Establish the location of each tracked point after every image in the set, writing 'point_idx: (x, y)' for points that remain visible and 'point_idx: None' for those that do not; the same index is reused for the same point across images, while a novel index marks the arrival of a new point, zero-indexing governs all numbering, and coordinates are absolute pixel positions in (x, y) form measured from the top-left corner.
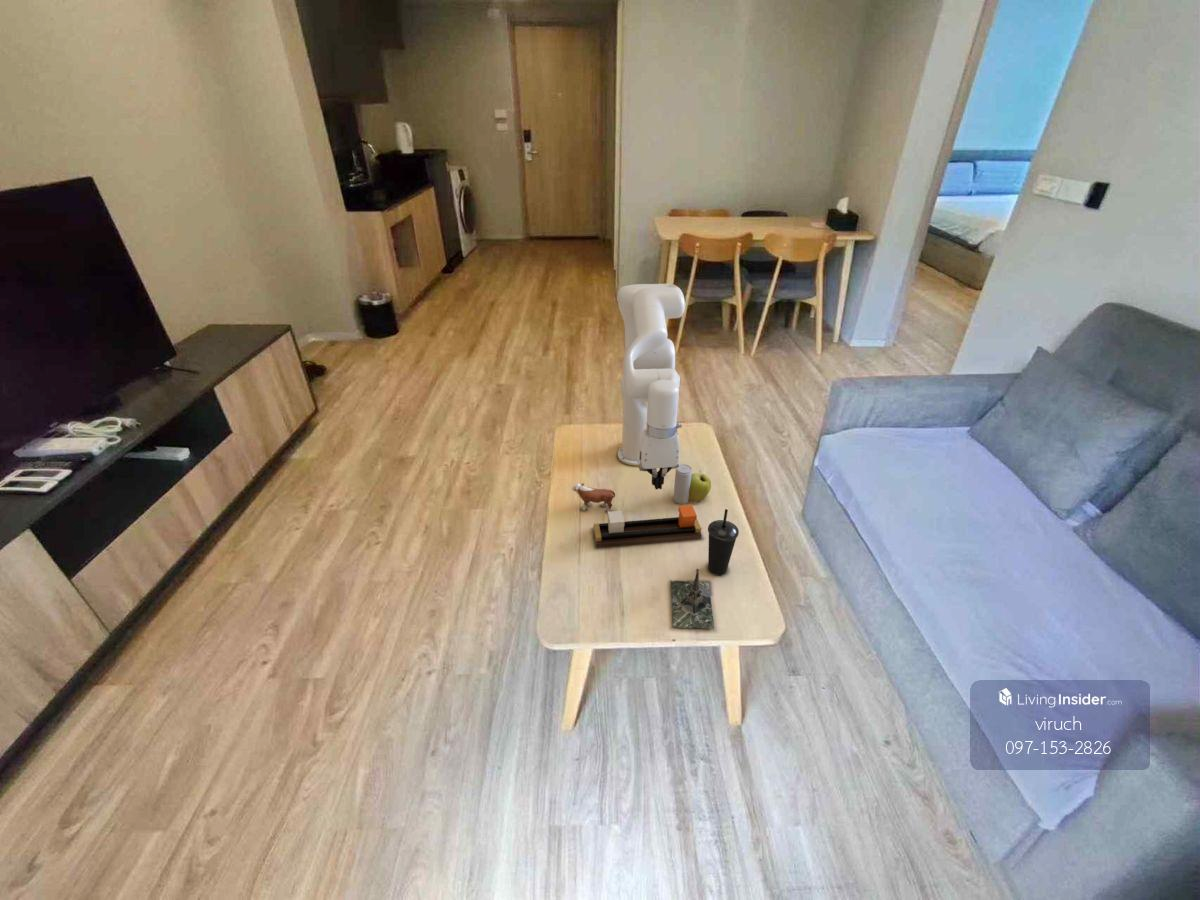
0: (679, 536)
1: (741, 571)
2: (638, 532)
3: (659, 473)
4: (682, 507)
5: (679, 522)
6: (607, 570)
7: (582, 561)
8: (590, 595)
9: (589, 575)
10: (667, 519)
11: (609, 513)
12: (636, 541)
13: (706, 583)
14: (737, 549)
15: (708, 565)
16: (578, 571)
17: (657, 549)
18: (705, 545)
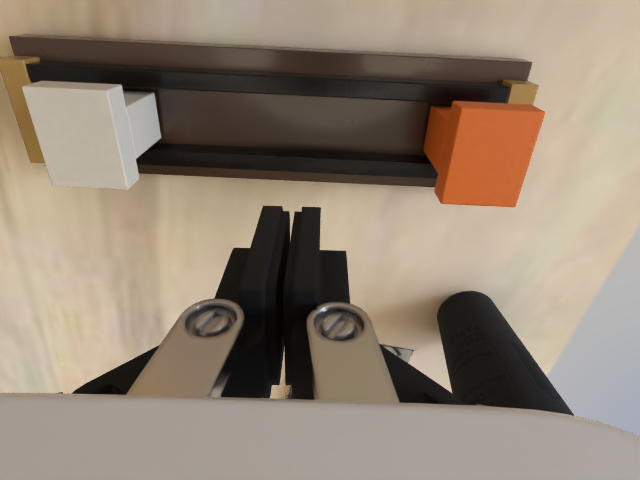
0: (402, 183)
1: (529, 330)
2: (223, 163)
3: (291, 372)
4: (476, 126)
5: (432, 132)
6: (116, 267)
7: (21, 218)
8: (74, 338)
9: (58, 277)
10: (383, 94)
11: (34, 106)
12: (219, 175)
13: (405, 352)
14: (584, 252)
15: (440, 319)
16: (18, 257)
17: (301, 206)
18: (485, 216)
